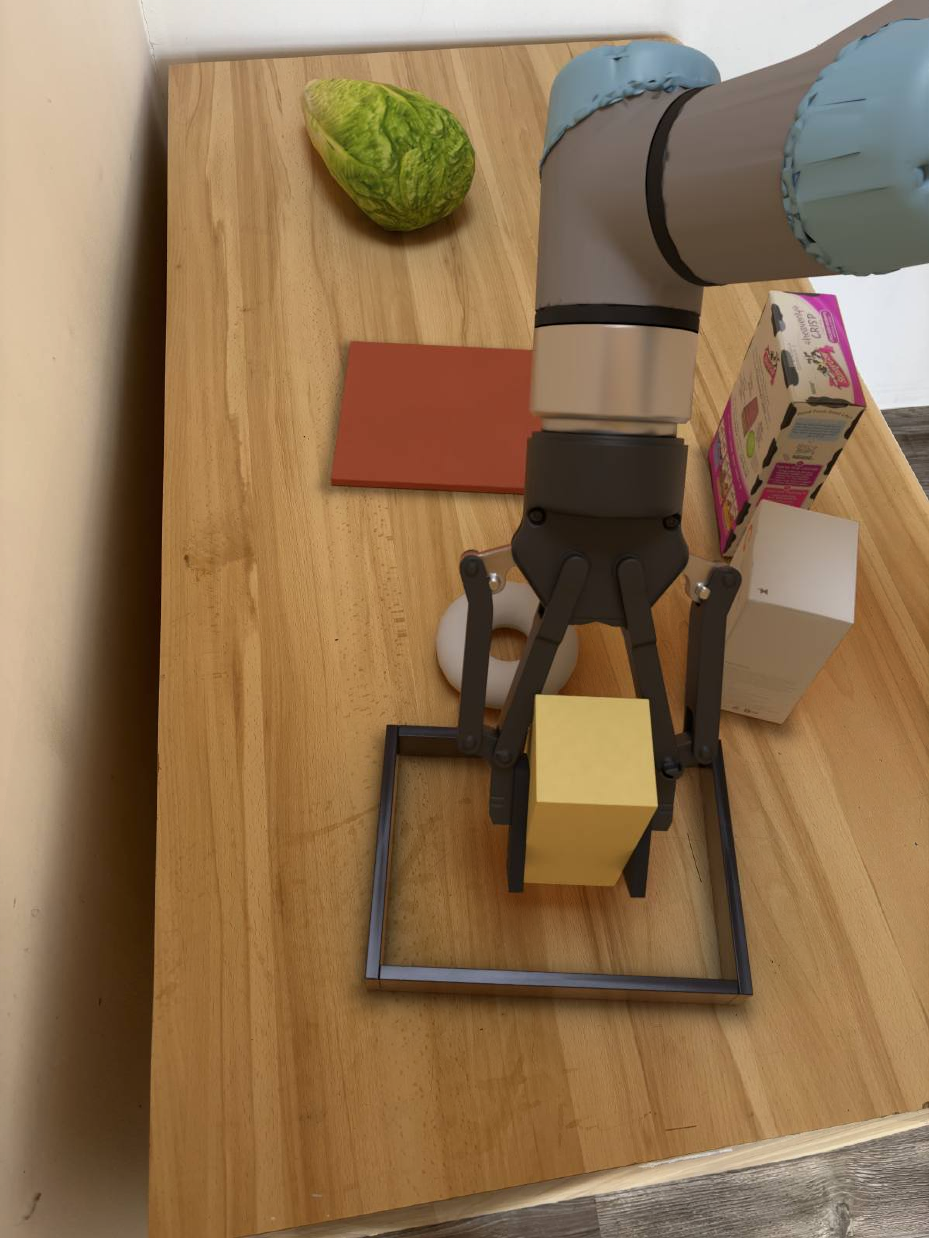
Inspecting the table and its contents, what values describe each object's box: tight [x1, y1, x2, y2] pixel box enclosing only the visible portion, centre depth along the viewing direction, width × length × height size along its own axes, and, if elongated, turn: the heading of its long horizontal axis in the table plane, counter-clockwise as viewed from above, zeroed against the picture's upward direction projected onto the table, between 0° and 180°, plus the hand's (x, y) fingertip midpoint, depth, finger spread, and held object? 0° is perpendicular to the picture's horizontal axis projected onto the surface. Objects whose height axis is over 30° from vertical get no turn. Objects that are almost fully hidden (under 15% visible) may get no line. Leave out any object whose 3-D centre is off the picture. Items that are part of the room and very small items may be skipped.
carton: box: [524, 694, 658, 887], centre depth 49 cm, size 6×6×12 cm
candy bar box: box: [707, 290, 868, 559], centre depth 68 cm, size 11×5×16 cm, turn 178°
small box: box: [721, 499, 861, 725], centre depth 61 cm, size 8×6×13 cm
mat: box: [330, 340, 541, 495], centre depth 78 cm, size 20×16×1 cm
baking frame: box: [364, 723, 754, 1006], centre depth 57 cm, size 22×16×3 cm
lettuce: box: [299, 78, 476, 232], centre depth 92 cm, size 12×24×13 cm
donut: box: [434, 580, 580, 710], centre depth 65 cm, size 10×4×10 cm
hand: (574, 881), depth 49 cm, fingers closed on carton, 5 cm apart
